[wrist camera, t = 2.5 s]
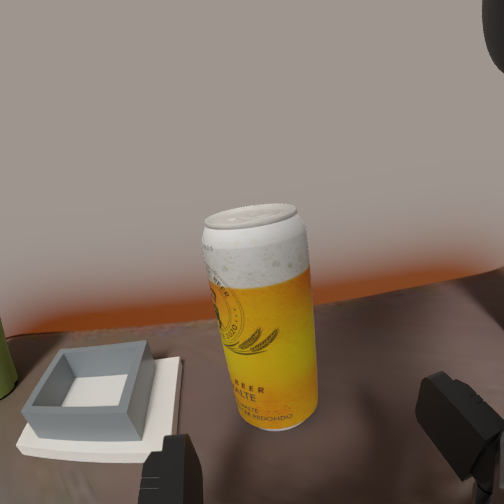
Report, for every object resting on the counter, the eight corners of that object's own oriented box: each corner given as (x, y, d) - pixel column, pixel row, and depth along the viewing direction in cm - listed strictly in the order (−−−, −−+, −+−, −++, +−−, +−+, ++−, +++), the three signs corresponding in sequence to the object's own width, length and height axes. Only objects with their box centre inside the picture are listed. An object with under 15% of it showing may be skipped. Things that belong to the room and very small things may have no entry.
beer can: (230, 397, 25) (189, 217, 20) (296, 374, 26) (277, 199, 22) (255, 447, 19) (210, 233, 15) (333, 416, 21) (324, 209, 17)
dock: (182, 366, 30) (171, 330, 29) (175, 461, 18) (155, 423, 17) (63, 376, 29) (47, 344, 28) (23, 454, 17) (-3, 419, 16)
